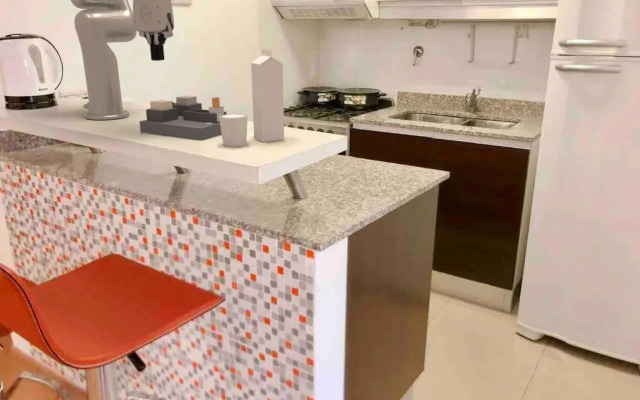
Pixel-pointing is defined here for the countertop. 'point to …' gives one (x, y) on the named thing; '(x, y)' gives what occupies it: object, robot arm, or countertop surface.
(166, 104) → the cream button
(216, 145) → the countertop surface
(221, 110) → the toggle slider
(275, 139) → the milk
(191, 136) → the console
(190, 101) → the grey button
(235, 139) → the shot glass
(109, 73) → the robot arm
